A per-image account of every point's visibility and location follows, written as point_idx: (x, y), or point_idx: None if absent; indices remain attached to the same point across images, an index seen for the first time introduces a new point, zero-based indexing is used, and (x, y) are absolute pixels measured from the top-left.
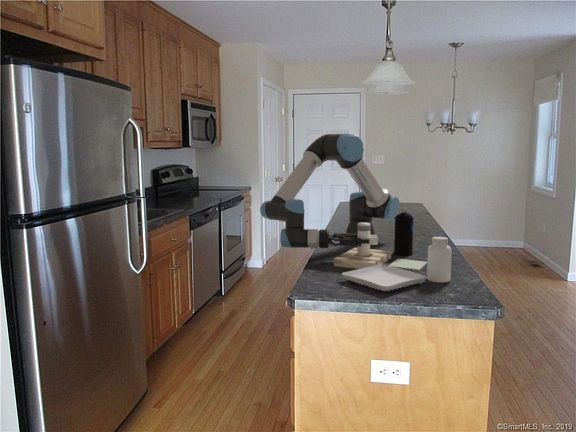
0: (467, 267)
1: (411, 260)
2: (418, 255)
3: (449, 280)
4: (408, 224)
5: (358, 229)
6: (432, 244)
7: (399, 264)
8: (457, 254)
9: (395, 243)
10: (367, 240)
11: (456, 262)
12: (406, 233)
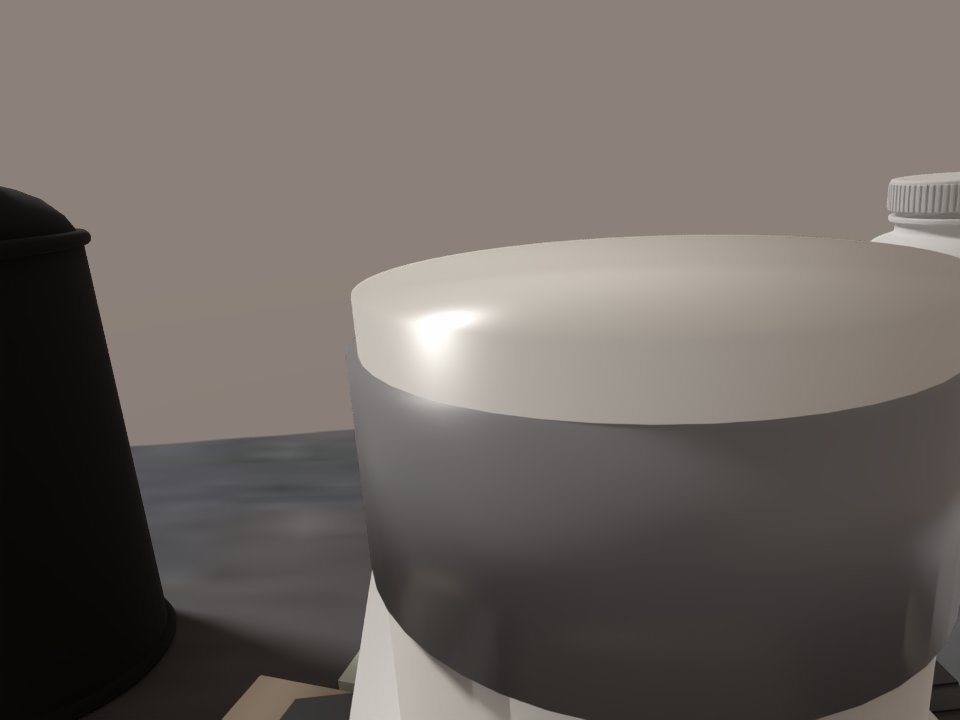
0: None
1: None
2: (188, 565)
3: None
4: (95, 300)
5: (940, 618)
6: (951, 241)
7: None
8: (219, 440)
9: (17, 603)
10: (938, 678)
11: None
12: (116, 408)
